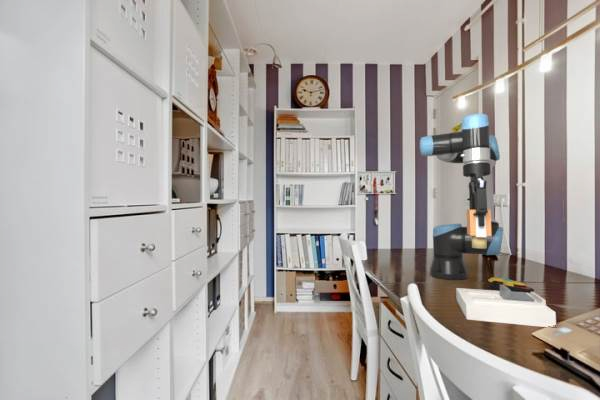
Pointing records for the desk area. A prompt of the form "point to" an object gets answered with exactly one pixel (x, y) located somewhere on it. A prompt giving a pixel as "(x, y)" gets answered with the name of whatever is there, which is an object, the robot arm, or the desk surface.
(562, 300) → the desk surface
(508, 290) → the shutter
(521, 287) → the gadget
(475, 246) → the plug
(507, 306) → the socket
